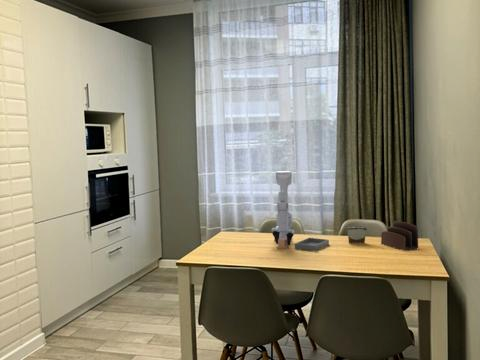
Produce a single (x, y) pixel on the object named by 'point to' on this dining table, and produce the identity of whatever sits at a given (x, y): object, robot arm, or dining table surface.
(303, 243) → the baking dish
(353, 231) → the food container
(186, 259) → the dining table surface
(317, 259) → the dining table surface
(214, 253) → the dining table surface
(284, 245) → the terracotta block
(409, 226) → the letter holder
